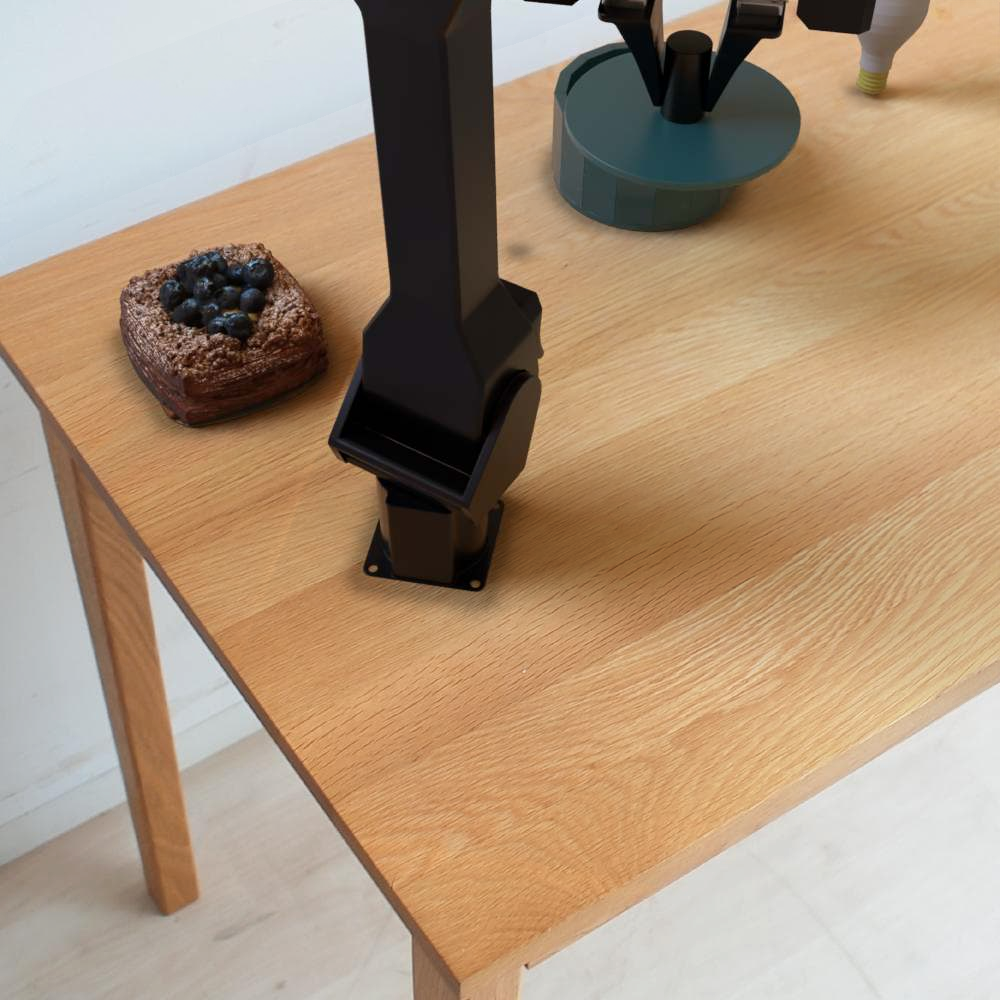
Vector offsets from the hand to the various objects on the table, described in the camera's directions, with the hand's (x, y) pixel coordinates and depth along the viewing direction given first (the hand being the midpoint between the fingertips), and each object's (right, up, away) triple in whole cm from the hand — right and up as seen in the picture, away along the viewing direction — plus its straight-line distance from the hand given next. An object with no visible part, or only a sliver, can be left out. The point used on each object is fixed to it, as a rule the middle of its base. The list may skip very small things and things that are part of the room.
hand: (683, 105), depth 83 cm
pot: (-1, 0, +16) cm, 16 cm away
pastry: (-27, -14, +5) cm, 31 cm away
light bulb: (+17, +7, +23) cm, 29 cm away
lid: (0, -1, +1) cm, 1 cm away
